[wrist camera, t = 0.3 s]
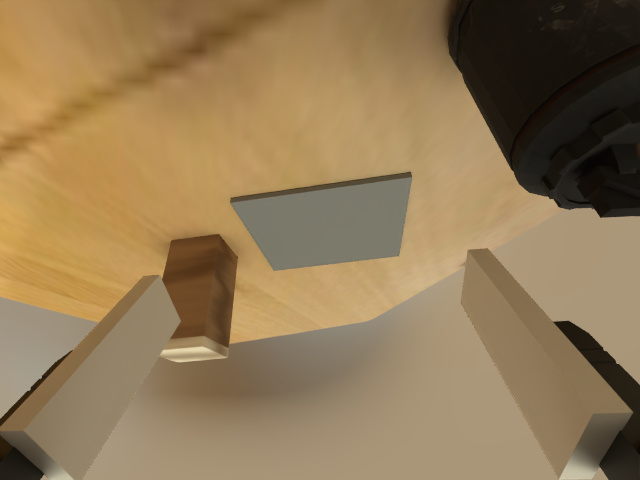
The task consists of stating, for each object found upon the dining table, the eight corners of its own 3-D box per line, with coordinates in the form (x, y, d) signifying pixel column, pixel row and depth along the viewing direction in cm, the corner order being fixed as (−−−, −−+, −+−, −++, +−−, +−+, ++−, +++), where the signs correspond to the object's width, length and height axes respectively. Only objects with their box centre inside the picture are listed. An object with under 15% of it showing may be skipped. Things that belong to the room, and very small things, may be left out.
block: (171, 240, 36) (144, 351, 30) (218, 234, 36) (202, 346, 29) (196, 262, 42) (177, 362, 35) (237, 257, 41) (227, 357, 34)
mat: (230, 198, 30) (230, 202, 30) (410, 172, 29) (412, 177, 28) (274, 267, 44) (273, 270, 44) (398, 252, 42) (399, 256, 42)
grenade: (435, 74, 21) (526, 269, 13) (449, -52, 15) (625, 156, 7) (548, 47, 20) (724, 243, 12) (608, -98, 14) (1015, 86, 6)
